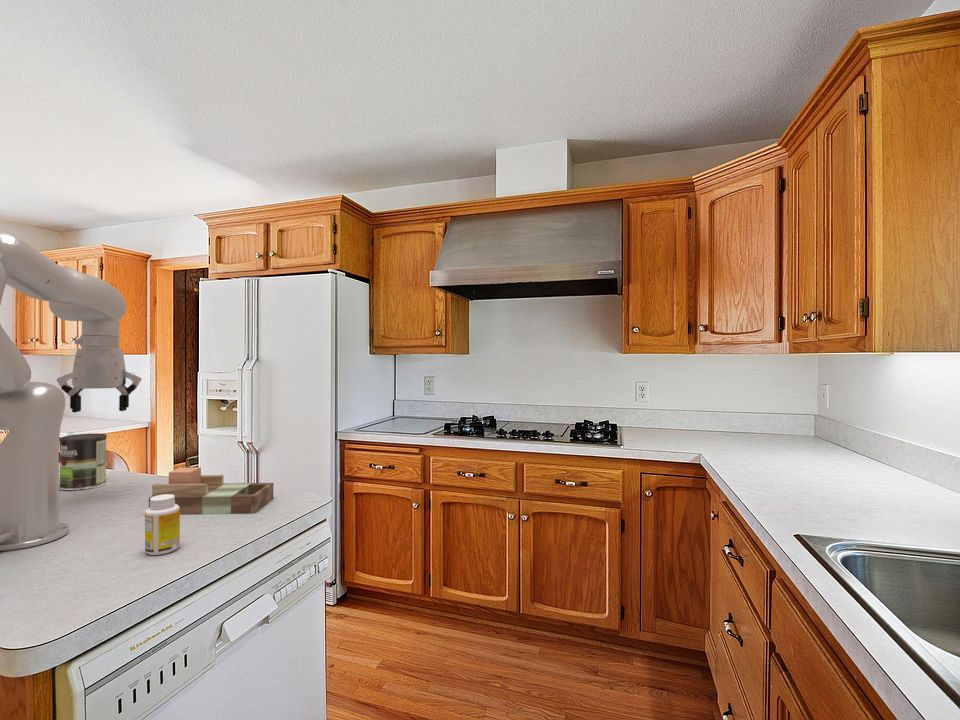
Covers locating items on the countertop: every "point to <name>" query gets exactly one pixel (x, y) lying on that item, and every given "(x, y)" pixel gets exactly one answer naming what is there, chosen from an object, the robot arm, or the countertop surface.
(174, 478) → the block
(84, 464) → the coffee can
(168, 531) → the supplement bottle
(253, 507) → the brown rectangular tray
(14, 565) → the countertop surface
